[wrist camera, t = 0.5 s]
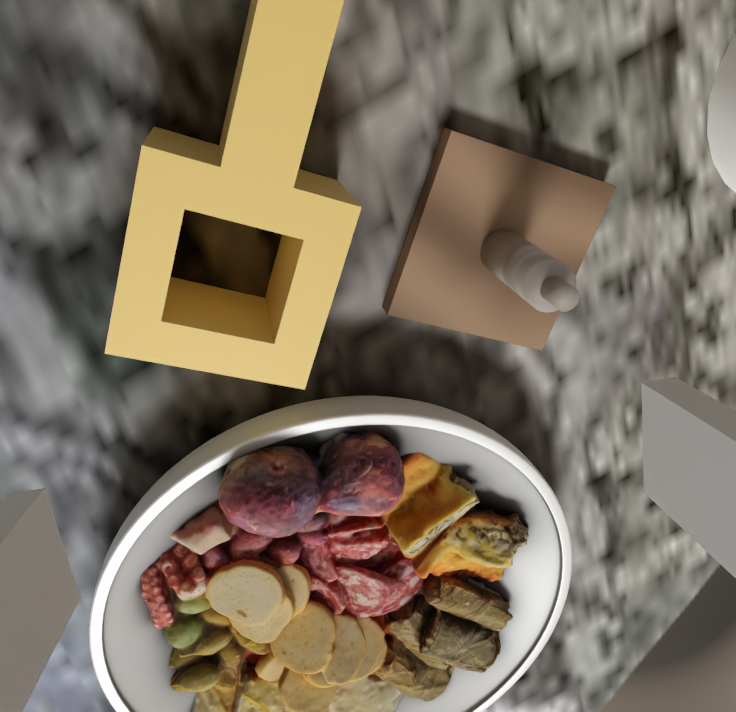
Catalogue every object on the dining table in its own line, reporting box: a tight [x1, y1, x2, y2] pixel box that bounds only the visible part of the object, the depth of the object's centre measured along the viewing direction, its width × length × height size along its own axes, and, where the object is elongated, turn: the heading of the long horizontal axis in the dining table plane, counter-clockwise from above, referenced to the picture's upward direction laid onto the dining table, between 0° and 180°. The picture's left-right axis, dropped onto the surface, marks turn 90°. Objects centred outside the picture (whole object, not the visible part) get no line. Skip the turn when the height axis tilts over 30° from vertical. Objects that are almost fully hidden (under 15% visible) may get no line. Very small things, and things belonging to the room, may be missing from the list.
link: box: [105, 0, 361, 390], centre depth 29 cm, size 19×9×6 cm, turn 162°
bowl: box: [89, 396, 572, 712], centre depth 41 cm, size 30×30×8 cm
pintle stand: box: [383, 128, 616, 350], centre depth 32 cm, size 10×10×9 cm
